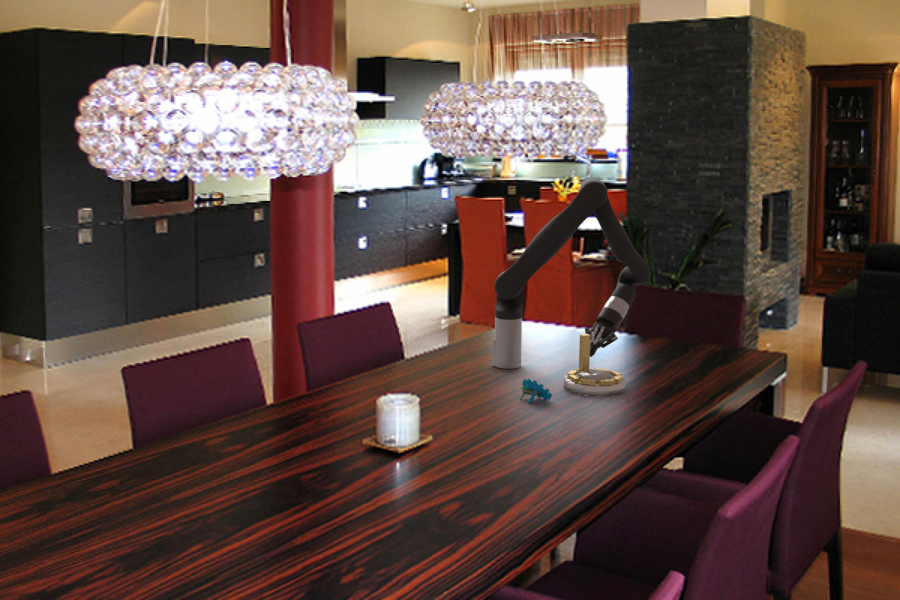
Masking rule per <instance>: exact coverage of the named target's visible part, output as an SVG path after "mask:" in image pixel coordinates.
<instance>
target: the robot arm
mask: <svg viewBox="0 0 900 600" xmlns="http://www.w3.org/2000/svg"><path fill="white" fill-rule="evenodd" d="M608 192H609V191H608V187H607V186H606V184H605V183H604V182H603V180H601V179H599V178H597V177H591V178H587V179H585V180H584V181H583V182H582V183H581V184H580V187H579V190H578V192H577V194H576V195H575V197H573V199H572V200H571V202H570V203H569V204H568V206H566V207H565V208H564V209H563V210H562V211H560V213H558V214H557V215H556V216H554V217H553V218H552V219H550V221H548V222H547V223H546V224H545V225H544V226H543V227H542V228H541V229H540V230H539V232H537V233H536V235H535V236H534V237H533V238H532V240H531V241H530V242H529V243H528V245H527V246H526V248H525V249H524V251H523V252H522V254H521V255H520V256H519V258H517V260H516V261H515V262H514V263H513V264H511V266H509V267H508V268H507V269H506V270H504V271H502V272H501V273H500V274H498V276H497V278H496V279H495V282H494V291H495V294H496V301H495V302H496V303H495V310H494V313H495V314H494V338H492V340H491V341H492V346H491V347H492V350H491V352H492V353H491V354H492V355H491V356H492V357H491V366H493V367H495V368H499V369H504V370H505V369H506V370H512V369H513V370H514V369H518V368H521V366H522V336H523V335H522V333H523V331H522V330H523V329H522V328H523V327H522V326H523V307H524V287H525V285H526V284H527V283H528V282H529V281H530V279H531V278H532V277H533V276H534V275H535V273H537V272H538V271H539V270H541V268H542V267H543V266H545V265H546V264H547V263H548V262H549V261H550V260H551V259H552V258H553V257H554V256H556V254H558V252H560V250H561V249H562V248H563V247H564V246H565V245H566V243H567V242H568V241H570V239H571V238H572V236H573V235H574V234H575V233H576V232H577V230H578V229H579V227H580V226H581V225H582V224H583V223H584V222H585V221H586V220H587V219H588V218H589V217H590V216H591V215H592V214H593V215H594V217H595V218H596V221H597V222H598V224H599V226H600V228H601V232H602V234H603V236H604V238H605V241H606V242H607V245H608V247H609V248H610V250H611V252H612V254H613V256H614V258H615V260H616V261H617V262H619V263H622V264H625V267H624V268H623V269H621V272H620V273H619V276H618V280H617V283H616V287H615V288H614V290H613V291H612V294H611V296H610V297H609V298H608V300H607V301H606V302H605V304H604V306H603V307H602V309H601V311H600V312H599V314H598V315H597V318H596V322H595V323H594V324H593V325H592V327H590V328H588V327H585V328H584V334H589V335H590V358H592V357H593V356H595V354H596V352H597V350H598V349H601V348H602V349H604V348H606V347H608V346H609V345H611V344H612V343H614V342H616V341H617V340H618V339H619V338H618V336H617V335H616V331H617V330H618V329H619V327H620V325H621V323H622V322H623V320H624V318H625V317H626V315H627V313H628V311H629V309H630V306H631V305H632V304H633V302H634V299H635V297H636V291H635V290H634V288H635V286H639V285H645V284H647V283H648V282H650V280H651V277H652V272H651V268H650V266H649V265H648V263H647V261H645V260H644V258H643V257H642V256H641V255H640V254H639V253H638V252H637V250H636V248H635V247H634V245H633V243H632V241H631V239H630V238H629V236H628V233H627V231H626V230H625V228H624V226H623V225H622V224H621V222H620V221H619V219H618V217H617V214H616V213H615V211H614V209H613V206H612V204H611V201H610V198H609V196H608Z"/></svg>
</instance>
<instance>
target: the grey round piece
mask: <svg viewBox="0 0 900 600" xmlns="http://www.w3.org/2000/svg"><path fill="white" fill-rule="evenodd" d="M594 369H595V368H594ZM594 369H592V368H591V370H583V371H580V372H579V374H578V373H577V375H576V376H577V377H579V378H580V379H590V380H596V385H587V384H580V382H573V381H571V380H569V379H568V377H567V375H565V376H564V377H563V387H564V386H565V387H564V389H565V390H566V391H567V390H568V391H570V392H569V393H571V392H572V393H571V394H574V393H576V394H575V395H577V394H580V395H579V396H583V395H588V396H587V397H592V396H607V397H613V396H612V395H615V396H619V395H621V393H622V394H623V393H625V392H626V380H625V378H624V377H623V380H622V381H621V382H619V383H615V384H611V385H599V384H598V380H607V379H614V378H615V377H613V376H611V373H610V372H608V371H604V370H594ZM568 391H567V392H568ZM618 394H619V395H618Z"/></svg>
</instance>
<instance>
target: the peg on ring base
mask: <svg viewBox="0 0 900 600" xmlns="http://www.w3.org/2000/svg"><path fill="white" fill-rule="evenodd" d="M578 345H579V351H578V352H579V353H578V357H579V358H578V368H575V369H571V370H570V371H568V372H567V373H566V374H567V377H568V379H569V380H571V381H573V382H580V384H587V385H596V380H590V379H580V378H579V377H577V376H576V375H577V373H578V374H579V372H580V371H583V370H591V369H592V368H590V363H591V362H590V358H591V357H590V335H589V334H585V333H580V334H579V344H578ZM594 370H604V371H608V372H610V373H611V376H613V377H615V378H614V379H607V380H598V384H599V385H611V384H615V383H619V382H621V381H622V380H623V378H624V375H623V374H622V373H620V372H619V371H616V370H611V369H609V368H601V367H600V368H599V367H595V368H594Z"/></svg>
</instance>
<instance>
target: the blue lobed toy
mask: <svg viewBox="0 0 900 600" xmlns="http://www.w3.org/2000/svg"><path fill="white" fill-rule="evenodd" d="M521 385H522V386H521V388H520V389H521V390H522V391H521V392H522V394H521V396H520V397H519V400H521V401H522V400H523V399H524V397H525V395H528V396H530V398H529V399H528V402H527V403H528V404H530V405H531V404H532V402H533V401H534V399H535V397H537V398H538V399H541V398H542V399H543V400H545V401H546V400H549V401H550V400H551V399H552V396H553V393H551V392H550V389H549V388H547V387H546V388H544V387H545V385H544V384H542V383H540V384H538V381H537V380H534V379H533V380H531V379H530V378H527V379H526V378H524V379H523V380H522V383H521Z"/></svg>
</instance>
